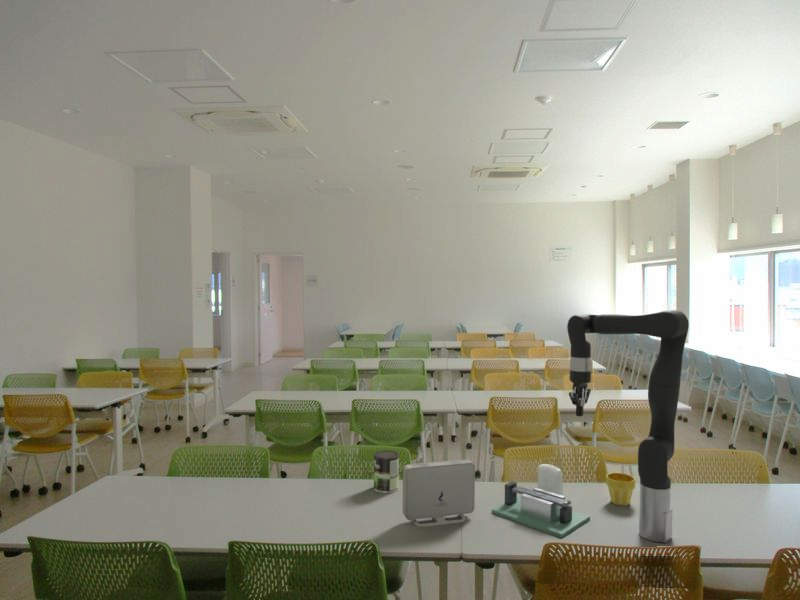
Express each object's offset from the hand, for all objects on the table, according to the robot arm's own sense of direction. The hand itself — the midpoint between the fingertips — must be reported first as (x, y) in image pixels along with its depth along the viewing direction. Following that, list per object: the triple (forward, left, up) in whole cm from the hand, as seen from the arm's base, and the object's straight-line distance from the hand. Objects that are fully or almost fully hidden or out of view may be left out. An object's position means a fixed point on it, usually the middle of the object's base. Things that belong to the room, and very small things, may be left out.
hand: (579, 415), depth 205 cm
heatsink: (+8, +15, -34) cm, 38 cm away
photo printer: (+14, -4, -35) cm, 38 cm away
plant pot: (-8, -18, -35) cm, 40 cm away
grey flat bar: (+7, +15, -29) cm, 33 cm away
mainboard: (+7, +15, -35) cm, 39 cm away
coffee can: (+65, +36, -35) cm, 82 cm away
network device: (+31, +43, -35) cm, 64 cm away
